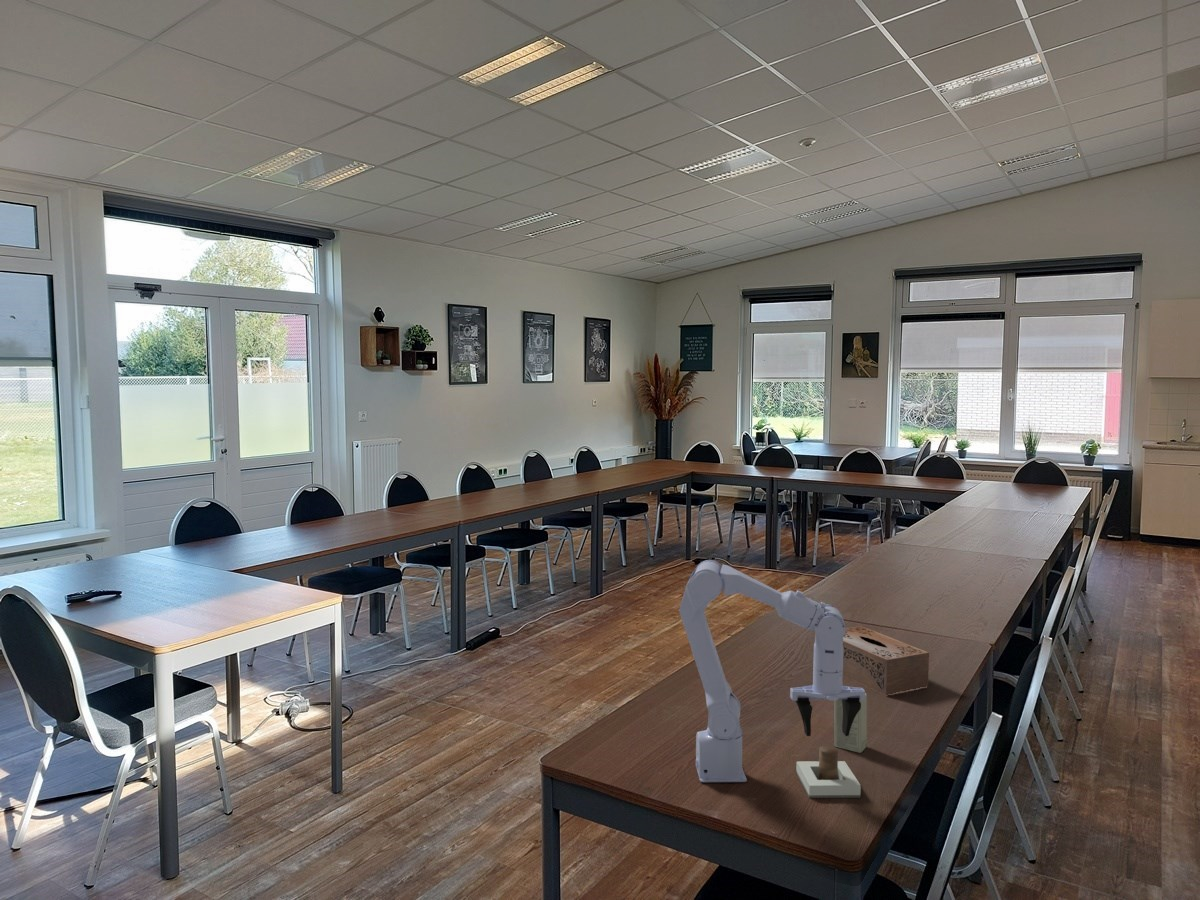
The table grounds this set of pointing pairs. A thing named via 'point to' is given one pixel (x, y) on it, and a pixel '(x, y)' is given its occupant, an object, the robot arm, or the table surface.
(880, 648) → the tissue box cover
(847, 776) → the socket block
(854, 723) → the skincare box
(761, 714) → the table surface
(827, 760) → the pin
